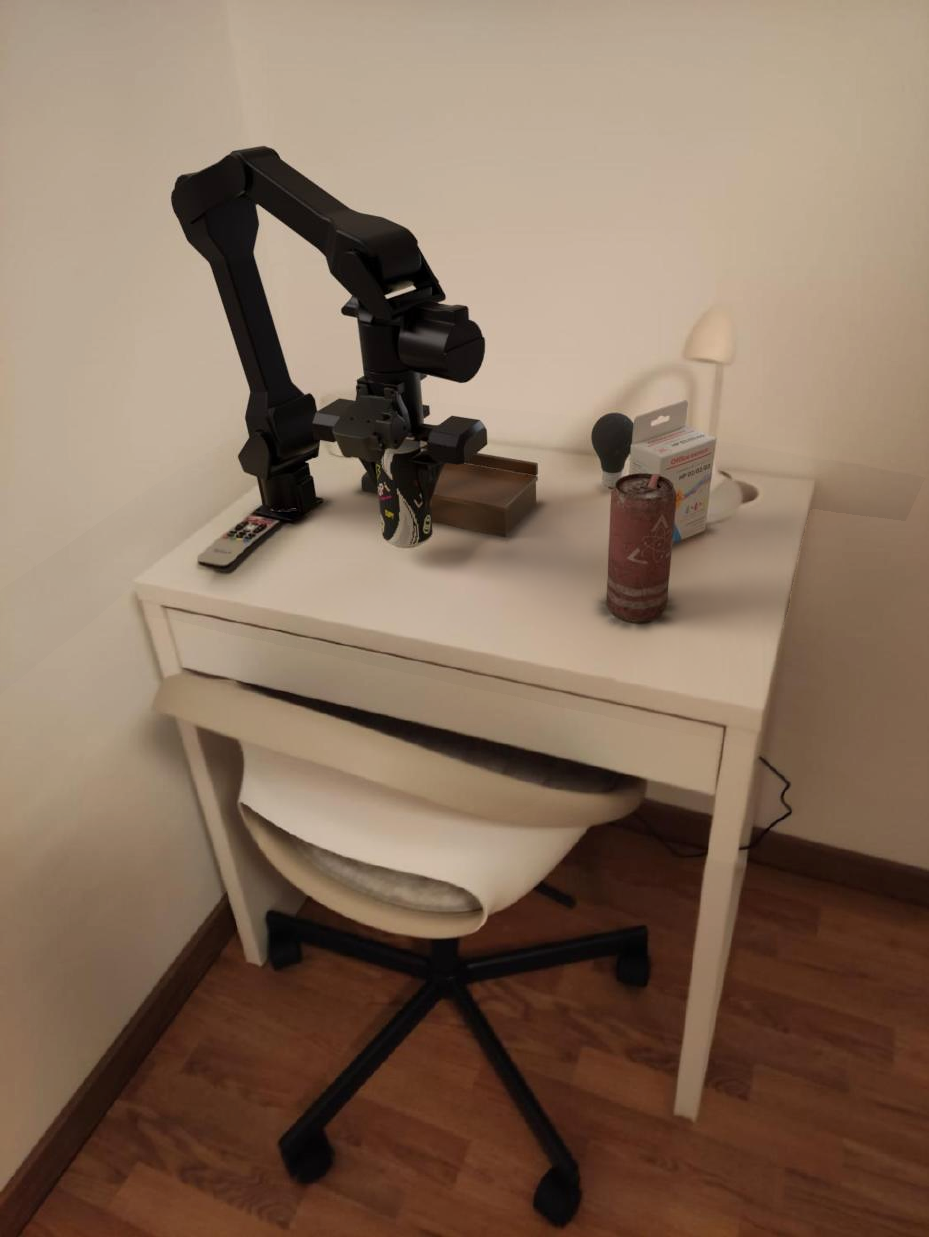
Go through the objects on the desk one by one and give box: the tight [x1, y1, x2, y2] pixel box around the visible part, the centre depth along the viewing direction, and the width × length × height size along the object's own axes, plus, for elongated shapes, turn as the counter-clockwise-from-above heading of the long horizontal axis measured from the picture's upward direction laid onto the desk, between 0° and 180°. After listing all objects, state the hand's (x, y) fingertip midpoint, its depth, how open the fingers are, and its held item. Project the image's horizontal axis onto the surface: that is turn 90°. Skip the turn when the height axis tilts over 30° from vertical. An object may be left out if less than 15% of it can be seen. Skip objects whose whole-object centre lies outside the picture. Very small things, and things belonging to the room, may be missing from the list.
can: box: [605, 473, 677, 624], centre depth 87 cm, size 6×6×14 cm
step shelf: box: [431, 452, 539, 538], centre depth 110 cm, size 16×10×6 cm, turn 62°
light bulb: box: [590, 412, 634, 490], centre depth 111 cm, size 6×6×10 cm
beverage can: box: [375, 440, 434, 549], centre depth 97 cm, size 6×6×12 cm
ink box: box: [628, 399, 717, 544], centre depth 99 cm, size 8×5×15 cm, turn 123°
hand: (404, 502), depth 98 cm, fingers closed on beverage can, 5 cm apart
